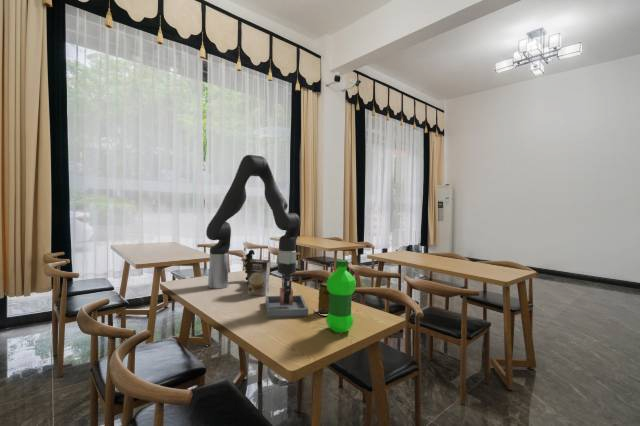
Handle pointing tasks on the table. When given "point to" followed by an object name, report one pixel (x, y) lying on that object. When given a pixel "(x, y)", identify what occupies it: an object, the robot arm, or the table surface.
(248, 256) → the toy figurine
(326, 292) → the condiment
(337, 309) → the plastic bottle
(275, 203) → the robot arm
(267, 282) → the coffee box
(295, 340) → the table surface
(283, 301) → the red block
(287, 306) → the tray
